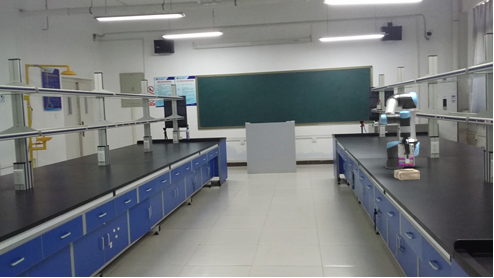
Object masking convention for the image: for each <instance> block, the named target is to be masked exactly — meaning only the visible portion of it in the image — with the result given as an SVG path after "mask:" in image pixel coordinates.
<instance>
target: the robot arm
mask: <svg viewBox="0 0 494 278" xmlns="http://www.w3.org/2000/svg"><path fill="white" fill-rule="evenodd" d="M385 106H386V107H385V110H384V114H381V115H380V123H381V125H394V124H399V128H398V129H399V137H400V138H401V140H395V141H389V142H387V143H386V163H385V165H384V166H385V169H387V168H388V169H387V170H400V169H405V166H399V165H398V144H404V146H405V153H406V154H405V163H409V154H410V145H409V144H414V157H417V156H418V155H419V152H420V143H421V142H419V141H418V139H417V138H416V137H417V134H416V112H415V111H416V109H418V108H417V107H418V106H419V99H418V95H417V92H410V91H409V92H402V93H393V94H392V95H391V96H389V97H388V98H387V100H386V102H385ZM396 108H401V110H402V111H400V112H399V113H396Z"/></svg>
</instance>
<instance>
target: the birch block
mask: <svg viewBox="0 0 494 278" xmlns="http://www.w3.org/2000/svg"><path fill="white" fill-rule="evenodd" d="M393 177H394V178H395V179H398V180H400V181H410V180H412V181H413V180H421V172H420V171H419V170H417V169H414V168H402V169H393Z"/></svg>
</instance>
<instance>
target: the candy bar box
mask: <svg viewBox="0 0 494 278" xmlns="http://www.w3.org/2000/svg"><path fill="white" fill-rule="evenodd" d="M409 145H410V154H409V163H405V154H406V153H405V146H404V144H398V165H399V166H404V167H414V166H416V165H415V156H414V144H409Z"/></svg>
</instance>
